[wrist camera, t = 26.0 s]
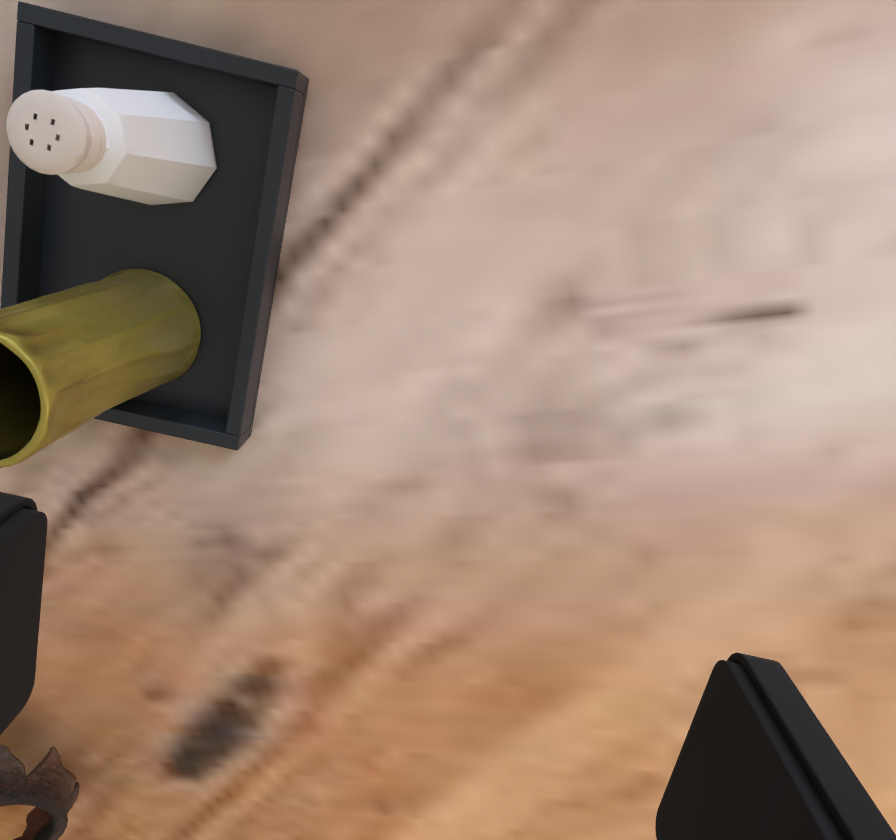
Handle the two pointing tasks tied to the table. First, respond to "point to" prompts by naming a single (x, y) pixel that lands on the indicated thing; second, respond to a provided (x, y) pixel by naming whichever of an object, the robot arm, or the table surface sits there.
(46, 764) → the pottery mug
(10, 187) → the tray
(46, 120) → the salt shaker
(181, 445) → the table surface
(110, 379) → the vase
